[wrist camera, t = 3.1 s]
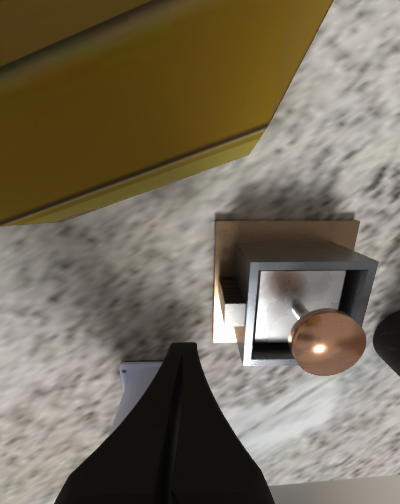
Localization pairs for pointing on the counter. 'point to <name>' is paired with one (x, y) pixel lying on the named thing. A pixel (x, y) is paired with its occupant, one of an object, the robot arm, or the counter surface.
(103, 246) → the counter surface
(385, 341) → the travel mug
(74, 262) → the counter surface
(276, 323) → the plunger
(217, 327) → the knob box on board
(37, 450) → the counter surface
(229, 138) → the container
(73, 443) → the counter surface
